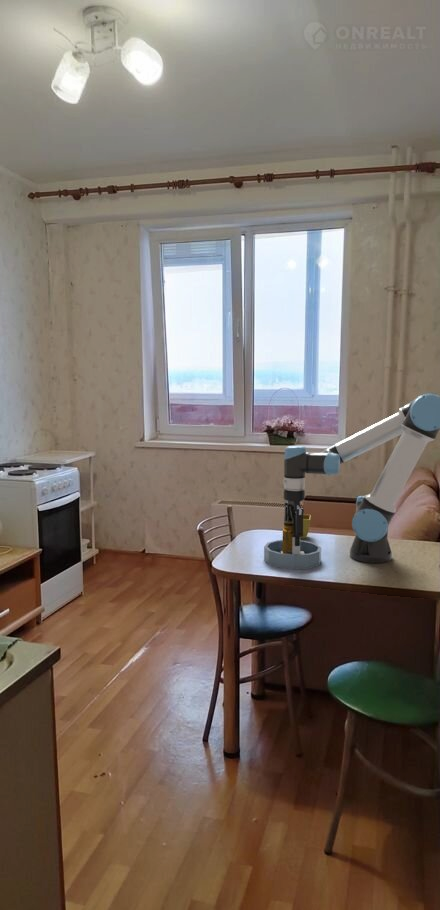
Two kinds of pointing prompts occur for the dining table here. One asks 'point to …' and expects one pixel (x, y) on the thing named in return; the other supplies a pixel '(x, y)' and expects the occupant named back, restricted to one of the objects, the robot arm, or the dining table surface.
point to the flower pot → (305, 525)
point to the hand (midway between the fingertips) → (292, 551)
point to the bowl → (292, 555)
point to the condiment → (288, 538)
